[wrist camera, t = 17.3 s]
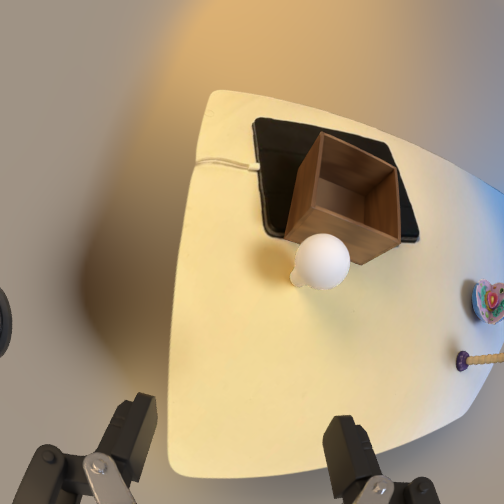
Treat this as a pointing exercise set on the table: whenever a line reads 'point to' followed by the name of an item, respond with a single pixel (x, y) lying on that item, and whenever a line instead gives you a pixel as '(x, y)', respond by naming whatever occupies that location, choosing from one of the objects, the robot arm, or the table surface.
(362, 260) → the box
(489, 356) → the toy lamp
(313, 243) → the lightbulb
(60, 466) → the robot arm
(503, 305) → the cell model
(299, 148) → the table surface
